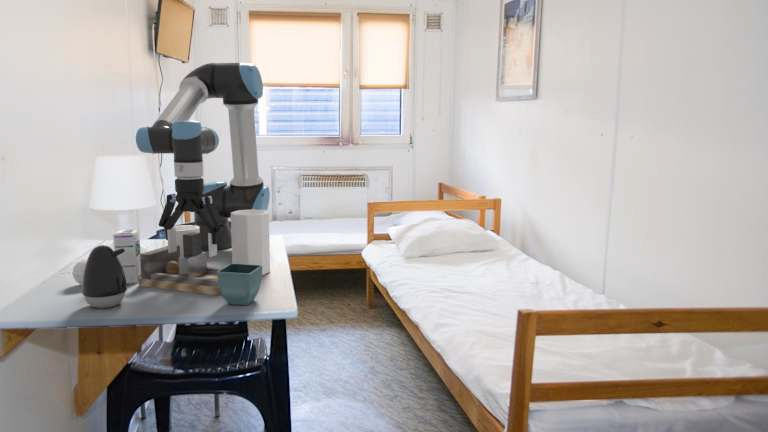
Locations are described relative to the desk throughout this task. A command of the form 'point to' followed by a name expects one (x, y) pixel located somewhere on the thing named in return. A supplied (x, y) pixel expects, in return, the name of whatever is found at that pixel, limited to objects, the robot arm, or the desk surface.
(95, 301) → the pump dispenser
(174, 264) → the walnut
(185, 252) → the block
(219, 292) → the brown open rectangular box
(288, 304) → the desk surface
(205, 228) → the robot arm
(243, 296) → the flower pot
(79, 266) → the white ball
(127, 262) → the syrup box
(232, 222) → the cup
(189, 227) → the foam cup
